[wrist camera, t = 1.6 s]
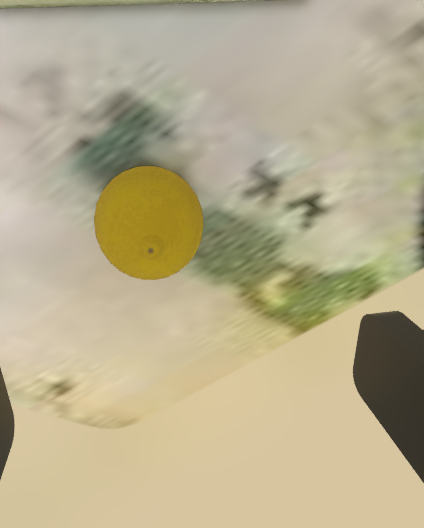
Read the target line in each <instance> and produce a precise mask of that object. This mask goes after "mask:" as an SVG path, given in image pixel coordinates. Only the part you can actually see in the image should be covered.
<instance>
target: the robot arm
mask: <svg viewBox="0 0 424 528" xmlns="http://www.w3.org/2000/svg"><path fill="white" fill-rule="evenodd" d="M353 377H354V382H355V386H356V388H357V391H358V393H359V394H360V396H361V397H362V399H363V400H364V402H365V403H366V404H367V406H368V407H369V408H370V410H371V411H372V413H373V414H374V415H375V417H376V418H377V419H378V421H379V422H380V424H381V425H382V426H383V427H384V429H385V430H386V432H387V433H388V434H389V436H390V437H391V439H392V440H393V441H394V443H395V444H396V445H397V447H398V448H399V450H400V451H401V452H402V454H403V455H404V456H405V458H406V459H407V461H408V462H409V463H410V465H411V466H412V467H413V469H414V470H415V472H416V473H417V474H418V476H419V477H420V478H421V480H422V481H423V482H424V330H422V329H420V328H419V327H418V326H417V325H416V324H415V323H413V322H412V321H411V320H410V319H409V318H407V317H406V316H405V315H404V314H403V313H401V312H399V311H392V312H383V313H374V314H366V315H365V316H363V318H362V320H361V323H360V329H359V334H358V341H357V347H356V353H355V359H354V366H353ZM13 437H14V415H13V411H12V407H11V403H10V400H9V396H8V393H7V389H6V386H5V382H4V379H3V375H2V372H1V368H0V479H1V476H2V473H3V470H4V467H5V464H6V461H7V458H8V455H9V452H10V449H11V446H12V441H13Z"/></svg>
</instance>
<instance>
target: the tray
mask: <svg viewBox="0 0 424 528" xmlns="http://www.w3.org/2000/svg"><path fill="white" fill-rule="evenodd" d="M230 1H264V0H0V8H27V7H61V6H95V5H128V4H162V3H196V2H230Z"/></svg>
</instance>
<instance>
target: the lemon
mask: <svg viewBox="0 0 424 528" xmlns="http://www.w3.org/2000/svg"><path fill="white" fill-rule="evenodd" d="M94 223H95V233H96V237H97V240H98V243H99V245H100V248H101V250H102V252H103V253H104V255H105V256H106V257H107V259H108V260H109V261H110V263H111V264H113V265H114V266H115V267H116V268H117V269H119V270H120V271H121V272H123V273H125V274H127V275H129V276H131V277H135V278H139V279H144V280H156V279H161V278H165V277H168V276H170V275H172V274H174V273H177V272H178V271H179V270H181V269H182V268H183V267H184V266H186V265H187V264H188V263H189V261H190V260H191V259H192V258H193V256H194V255H195V253H196V251H197V249H198V247H199V244H200V242H201V238H202V231H203V215H202V208H201V206H200V203H199V201H198V198H197V196H196V194H195V192H194V191H193V190H192V188H191V187H190V186H189V184H188V183H187V182H186V181H185V180H183V179H182V178H181V177H180V176H178V175H177V174H176V173H174V172H171V171H169V170H167V169H165V168H161V167H155V166H139V167H135V168H132V169H129V170H126V171H124V172H122V173H121V174H119V175H118V176H116V177H115V178H113V179H112V180H111V182H110V183H109V184H108V185H107V186H106V187H105V188H104V190H103V191H102V194H101V196H100V198H99V200H98V202H97V205H96V211H95V217H94Z"/></svg>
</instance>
